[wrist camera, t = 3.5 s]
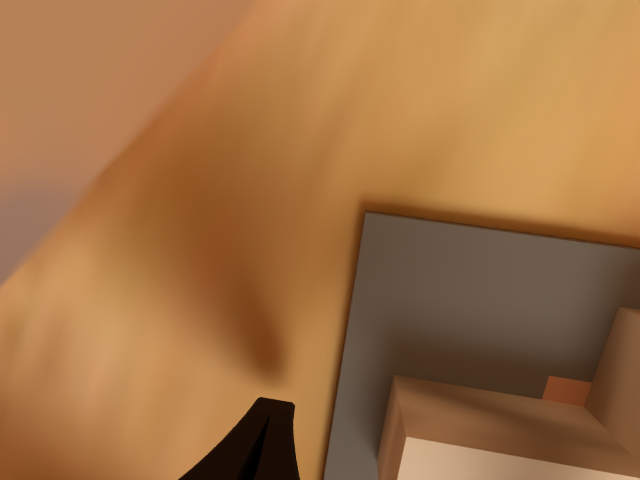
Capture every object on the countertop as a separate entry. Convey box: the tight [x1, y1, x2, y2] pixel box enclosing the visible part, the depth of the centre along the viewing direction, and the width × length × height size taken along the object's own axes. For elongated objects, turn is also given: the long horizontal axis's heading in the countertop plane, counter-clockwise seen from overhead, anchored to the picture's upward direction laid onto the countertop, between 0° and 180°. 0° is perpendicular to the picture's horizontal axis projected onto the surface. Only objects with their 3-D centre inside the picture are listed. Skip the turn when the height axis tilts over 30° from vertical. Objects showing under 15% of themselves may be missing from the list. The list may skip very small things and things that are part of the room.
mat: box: [323, 211, 640, 480], centre depth 13 cm, size 21×16×1 cm
